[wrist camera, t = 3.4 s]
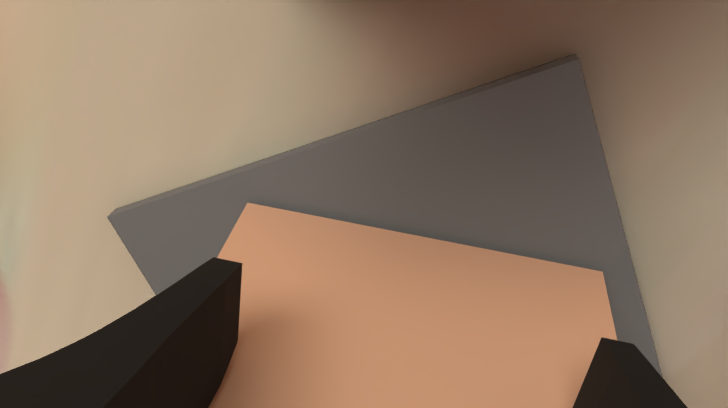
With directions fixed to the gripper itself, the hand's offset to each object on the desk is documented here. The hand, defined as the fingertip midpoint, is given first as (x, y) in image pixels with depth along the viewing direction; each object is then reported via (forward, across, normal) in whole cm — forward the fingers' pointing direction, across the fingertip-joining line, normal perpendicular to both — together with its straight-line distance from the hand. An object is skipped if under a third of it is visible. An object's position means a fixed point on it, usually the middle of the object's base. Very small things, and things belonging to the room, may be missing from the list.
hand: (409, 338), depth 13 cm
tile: (+5, 0, +1) cm, 5 cm away
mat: (+6, 0, +5) cm, 8 cm away
